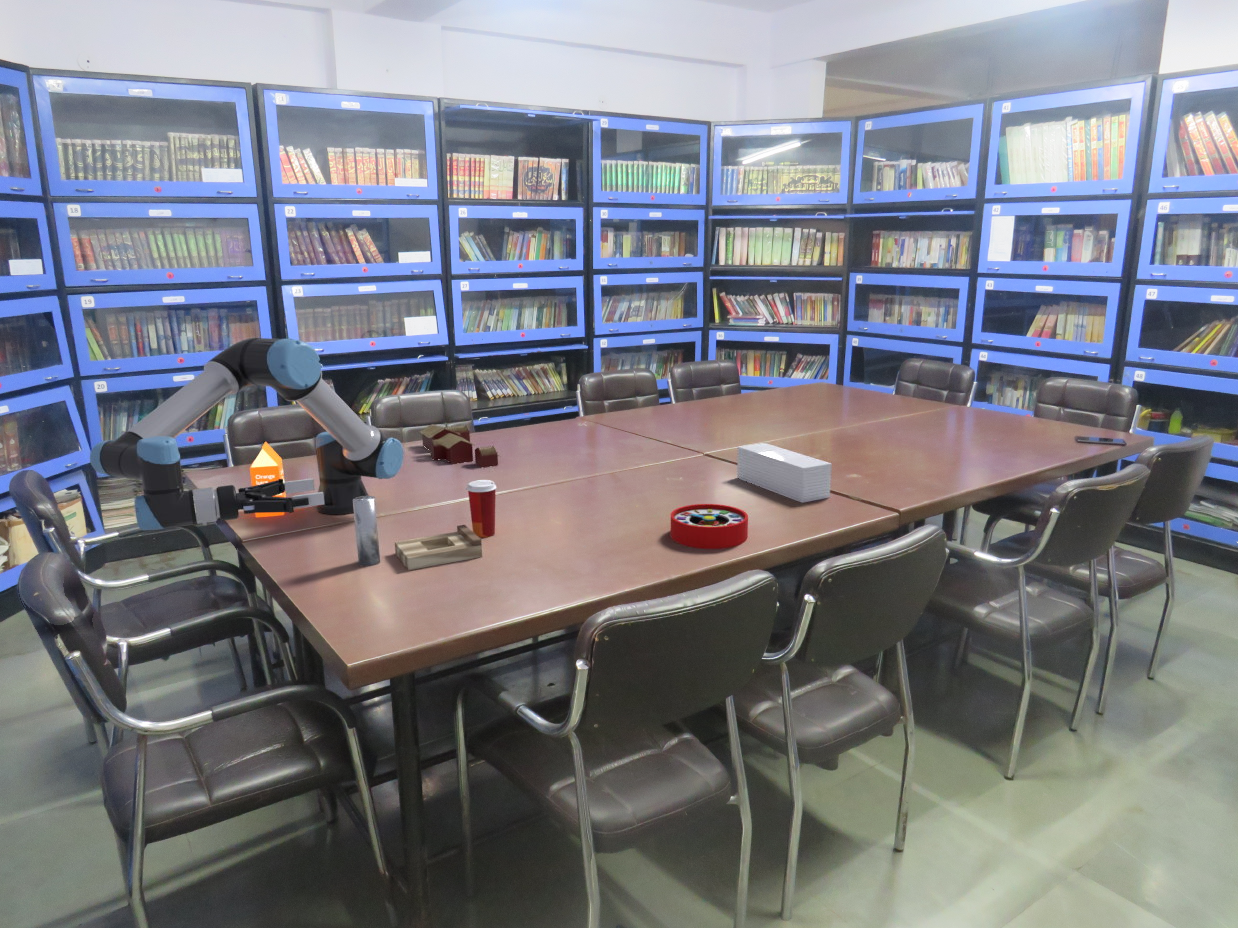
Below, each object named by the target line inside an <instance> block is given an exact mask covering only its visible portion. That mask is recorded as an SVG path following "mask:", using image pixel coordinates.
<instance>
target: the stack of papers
mask: <svg viewBox="0 0 1238 928" xmlns="http://www.w3.org/2000/svg"><path fill="white" fill-rule="evenodd" d="M736 464H737V465H736V466H737V468H736V470H737V471H736V478H737V479H738V478H739V480H741V481H744V482H746V481H747V483H749V484H751V483H752V485H754V484H755V486H757V487H759V486H760V487H759V488H763V489H765V490H768V491H771V492H774V493H776V494H777V495H781V496H783V497H786V498H788V499H790V500H794V501H797V502H799V503H802V504H803V503H807V502H812V501H819V500H824V499H828V498H830V497H831V482H832V481H831V479H832V477H831V476H832V463H831V462H827V461H825V460H822V459H817V458H814V457H812V456H808V455H805V454H802V453H799V452H795V451H792V450H789V449H785V448H782V447H779V446H776V445H773V444H769V443H766V442H761V443H755V444H747V445H740V446H737V463H736Z"/></svg>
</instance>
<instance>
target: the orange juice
mask: <svg viewBox="0 0 1238 928" xmlns="http://www.w3.org/2000/svg"><path fill="white" fill-rule="evenodd" d="M249 473H250V482H251V486H255V485H260V484H264V483H268V482H272V481H276V480H278V479H283V482H285V476H284V475H285V474H284V468H283V459H282V457H281V456H279V454H278V453H277V452H276V451H275V450H274V449H273V447H271V445H269V443H268V442H267V441H265V442H264V443H263V445H262V447H261V450H260V452H259V453H258V455H257V456H256V458H255V459H254V460H253V461H252V463H251V464H250V467H249ZM273 497H287V494H286V493H285V492H284V493H281V494H278V495H275V496H273ZM285 513H286V512H275V513H254V514H255V518H264V517H267V518H268V517H276V516H277V517H278V516H284V515H285Z"/></svg>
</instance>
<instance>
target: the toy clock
mask: <svg viewBox="0 0 1238 928" xmlns="http://www.w3.org/2000/svg"><path fill="white" fill-rule="evenodd" d="M748 515H749V514H748V513H747V512H746V511H745V510H743V509H740V508H738V507H735V506H731V505H725V504H716V503H695V504H689V505H684V506H680V507H677V508H675V509H673V510H672V511H671V513H670V538H671V540H672V541H674V542H675V543H677V544H679V545H682V546H685V547H688V548H689V547H690V548H694V549H701V550H702V549H703V550H704V549H705V550H706V549H707V550H718V549H719V550H720V549H726V548H727V549H729V548H734V547H736V546H740V545H742V544H743V543H746V541H747V540H748V535H749V531H748V530H749V516H748Z"/></svg>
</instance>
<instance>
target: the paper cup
mask: <svg viewBox="0 0 1238 928" xmlns="http://www.w3.org/2000/svg"><path fill="white" fill-rule="evenodd" d="M496 489H497V485H496V483H495V482H494V480H489V479H479V480H473V481H470V482H469V483H468V484H467V486H466V490H467V492H468V501H469V509H470V517H471V523H472V524H471V525H472V532H474V533H475V534H476V535H477V536H478V537H479V538H480V539H482V538H490V537H493V536H494V535H495V533H496V532H495V531H496Z"/></svg>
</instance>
